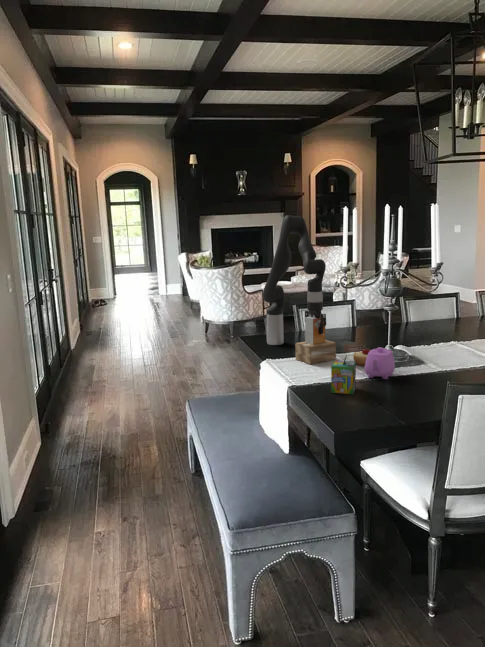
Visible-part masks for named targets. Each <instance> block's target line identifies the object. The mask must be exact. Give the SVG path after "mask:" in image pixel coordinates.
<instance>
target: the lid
mask: <svg viewBox="0 0 485 647" xmlns="http://www.w3.org/2000/svg"><path fill="white" fill-rule="evenodd" d="M295 344H297V345H300V346H303V347H307V348H315V347H320V346H326V345H331V344H336V341H332V340H328V339H325V342H324V343H318V344H314V345H313V344H309V343H306V342H305V340H304V341H301V342H295Z"/></svg>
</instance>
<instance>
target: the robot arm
mask: <svg viewBox="0 0 485 647" xmlns="http://www.w3.org/2000/svg"><path fill="white" fill-rule="evenodd" d="M279 232H280V233H279V239H278V243H277V245H276V246H277V247H276V250H275V254H274V257H273V258H272V259H273V260H272V265H271V269H270V270H269V271H270V272H269V275H268V277H267V280H266V283H265V285H264V287H263V291H262V299H263V301H264V302H265V303H268V304H269V303H272V304H271V305H270V306H269V307H268V308H267V309H266V327H265V329H266V330H265V331H266V334H265V335H266V343H267V345H269V346H280V345H283V344H284V343H285V342H284V309H285V291H284V288H283V286H282V285H280V284H278V283H279V281H280V280H281V279H282V278H283V276H284V275H285V274H286V273H287V271H288V270H289V269H290V268H289V267H290V265H291V262H292V256H293V255H292V251H291V248H290V246H289V236H290V234H291V235H293V234H294V235H299V237H300V239H299V243H298V252H299V255H300V256H301V259H302V263H303V264H302V266H303V271H304V273H305V274H306V275H315V276H314V277H313V278H310V279H308V280H307V294H306V298H307V300H306V301H307V302H306V303H307V307H306V308H307V310H305V311H304V318H305V317H313V318H321V320H320V321H318V320H317V324H318V326H319V334H323V327H324V326H325V327H327V314H326V313H322V311H323V308H324V302H323V301H324V300H323V299H324V298H323V296H324V295H323V280H324V277H325V273H326V268H327V267H326V266H327V265H326V262H325V261H324V260H323V259H321V258H320V259H319V258H318V259H316V258H317V253H316V250H315V248H314V246H313V244H312V242H311V239H310V235H309V231H308V228H307V225H306V221H305V219H304V218H303V217H302V216H300V215H292V214H291V215H290V214H289V215H287V214H286V215H285V216H284V218H283V219H282V222H281V227H280V231H279ZM323 321H324V324H323ZM320 323H321V324H320Z"/></svg>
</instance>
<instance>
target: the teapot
mask: <svg viewBox="0 0 485 647" xmlns="http://www.w3.org/2000/svg"><path fill="white" fill-rule="evenodd" d="M395 364H396V363H395V359H394V354H393V351H392V350H391V349H388V348H386V347H385V348H384V347H383V346H382V347H380V346H379V347H376V348H373V349H370V351H369V353H368V355H367V358H366V362H365V366H364V372H365V374H366V375H367V377H368V378H370V379H372V378H373V379H374V377H381V378H382V379H383V380H389V377H390V376H391V375H393V373H394V372H395V368H396V365H395Z"/></svg>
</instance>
